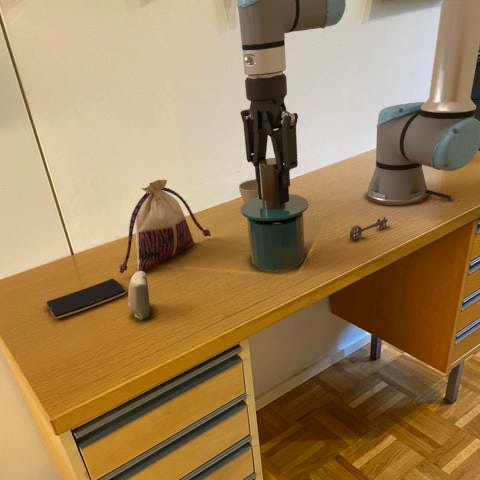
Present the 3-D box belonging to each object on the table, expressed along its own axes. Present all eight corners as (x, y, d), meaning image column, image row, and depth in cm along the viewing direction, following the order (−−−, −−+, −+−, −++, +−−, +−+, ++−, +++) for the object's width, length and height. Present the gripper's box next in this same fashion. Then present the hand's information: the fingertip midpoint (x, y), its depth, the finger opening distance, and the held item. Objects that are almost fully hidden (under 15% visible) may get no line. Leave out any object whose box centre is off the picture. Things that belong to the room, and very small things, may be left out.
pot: (310, 250, 110) (308, 205, 105) (296, 274, 101) (294, 227, 96) (261, 247, 114) (257, 204, 109) (244, 270, 105) (239, 224, 100)
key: (351, 242, 111) (351, 229, 109) (348, 241, 112) (348, 228, 110) (388, 227, 116) (388, 214, 114) (384, 226, 117) (385, 213, 115)
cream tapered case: (164, 312, 94) (156, 276, 90) (142, 324, 91) (132, 287, 87) (148, 303, 98) (139, 267, 93) (126, 314, 95) (116, 278, 91)
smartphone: (126, 290, 101) (54, 316, 95) (127, 294, 101) (56, 321, 95) (114, 277, 106) (45, 301, 100) (115, 282, 107) (46, 306, 101)
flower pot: (264, 218, 129) (261, 192, 125) (234, 213, 135) (231, 188, 131) (284, 206, 135) (283, 180, 131) (255, 201, 141) (253, 176, 137)
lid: (315, 199, 105) (314, 151, 99) (298, 225, 94) (296, 172, 88) (253, 198, 109) (249, 151, 104) (231, 222, 99) (225, 172, 93)
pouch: (136, 285, 105) (115, 199, 94) (114, 276, 110) (91, 193, 99) (217, 242, 119) (206, 164, 109) (194, 235, 124) (181, 160, 114)
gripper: (218, 77, 92) (232, 197, 105) (284, 79, 80) (291, 215, 92) (248, 70, 96) (258, 187, 108) (316, 72, 84) (318, 203, 96)
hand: (273, 199), depth 100 cm, fingers closed on lid, 5 cm apart
